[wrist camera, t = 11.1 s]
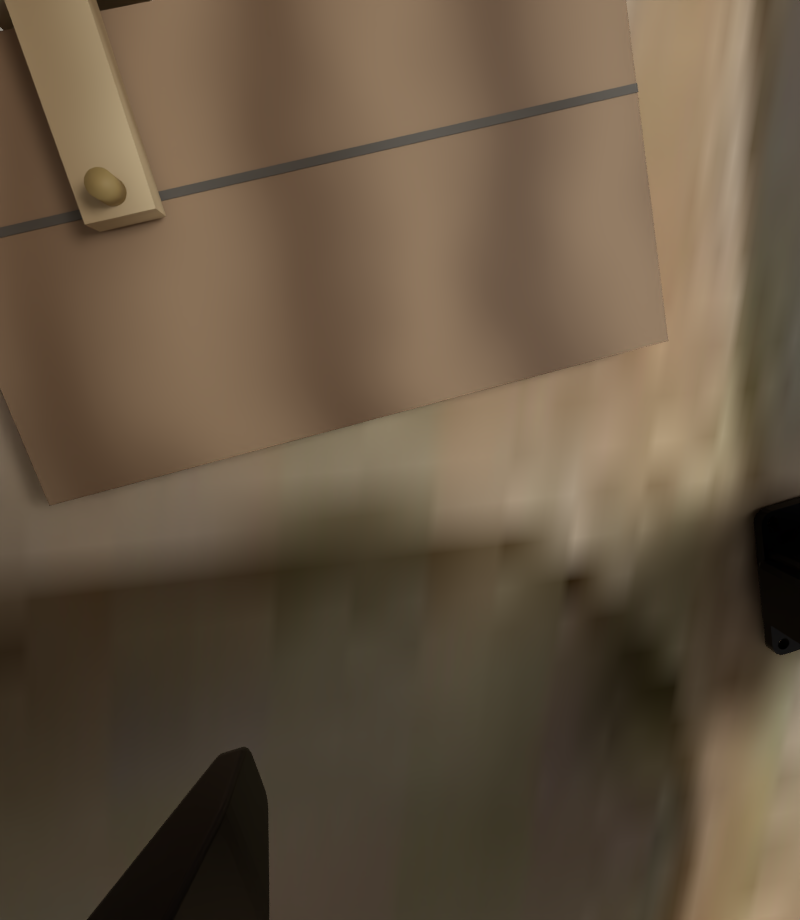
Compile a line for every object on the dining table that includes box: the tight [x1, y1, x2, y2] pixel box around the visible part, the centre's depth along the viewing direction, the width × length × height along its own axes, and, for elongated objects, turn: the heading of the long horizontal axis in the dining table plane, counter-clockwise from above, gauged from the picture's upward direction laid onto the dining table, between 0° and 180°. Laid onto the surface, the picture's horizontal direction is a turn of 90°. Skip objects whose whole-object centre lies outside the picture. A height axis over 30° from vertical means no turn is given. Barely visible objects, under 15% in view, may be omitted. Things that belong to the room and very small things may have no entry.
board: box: [0, 0, 668, 506], centre depth 17 cm, size 20×12×2 cm, turn 104°
